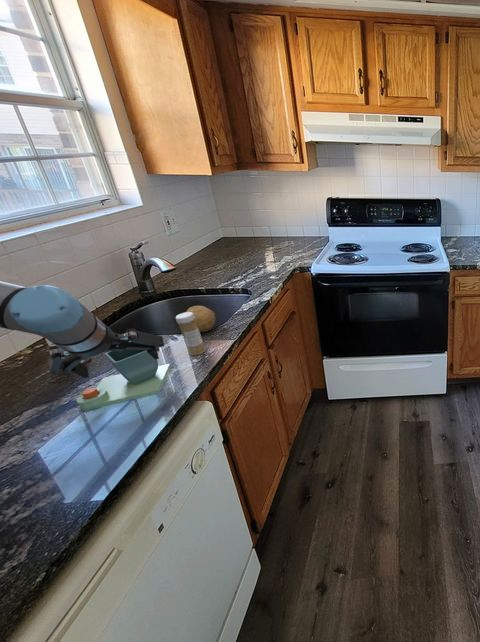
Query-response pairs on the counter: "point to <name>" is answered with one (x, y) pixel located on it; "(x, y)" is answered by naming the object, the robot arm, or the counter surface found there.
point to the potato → (203, 317)
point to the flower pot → (133, 364)
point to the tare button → (90, 393)
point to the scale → (124, 389)
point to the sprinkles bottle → (191, 333)
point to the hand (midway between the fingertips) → (122, 363)
